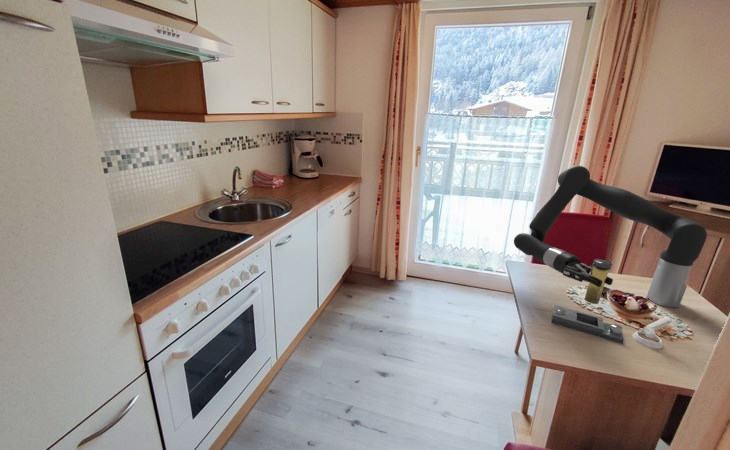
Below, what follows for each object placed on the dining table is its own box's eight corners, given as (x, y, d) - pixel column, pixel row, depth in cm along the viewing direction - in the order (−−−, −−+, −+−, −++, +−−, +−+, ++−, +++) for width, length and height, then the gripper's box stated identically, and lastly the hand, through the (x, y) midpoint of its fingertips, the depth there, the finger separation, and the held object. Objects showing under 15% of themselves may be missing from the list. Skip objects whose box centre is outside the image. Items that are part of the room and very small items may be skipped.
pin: (599, 299, 109) (611, 261, 105) (600, 306, 106) (612, 266, 101) (582, 295, 112) (593, 257, 107) (583, 301, 108) (594, 262, 103)
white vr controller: (693, 341, 98) (676, 328, 97) (652, 358, 104) (636, 346, 103) (679, 322, 104) (663, 310, 103) (642, 340, 110) (626, 328, 110)
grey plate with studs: (620, 331, 110) (622, 322, 109) (622, 344, 103) (625, 335, 102) (552, 312, 120) (554, 303, 119) (551, 322, 113) (553, 314, 112)
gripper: (547, 253, 116) (592, 275, 100) (577, 249, 120) (625, 270, 105) (543, 272, 118) (586, 296, 103) (573, 268, 122) (619, 290, 107)
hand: (606, 283), depth 104 cm, fingers closed on pin, 4 cm apart
